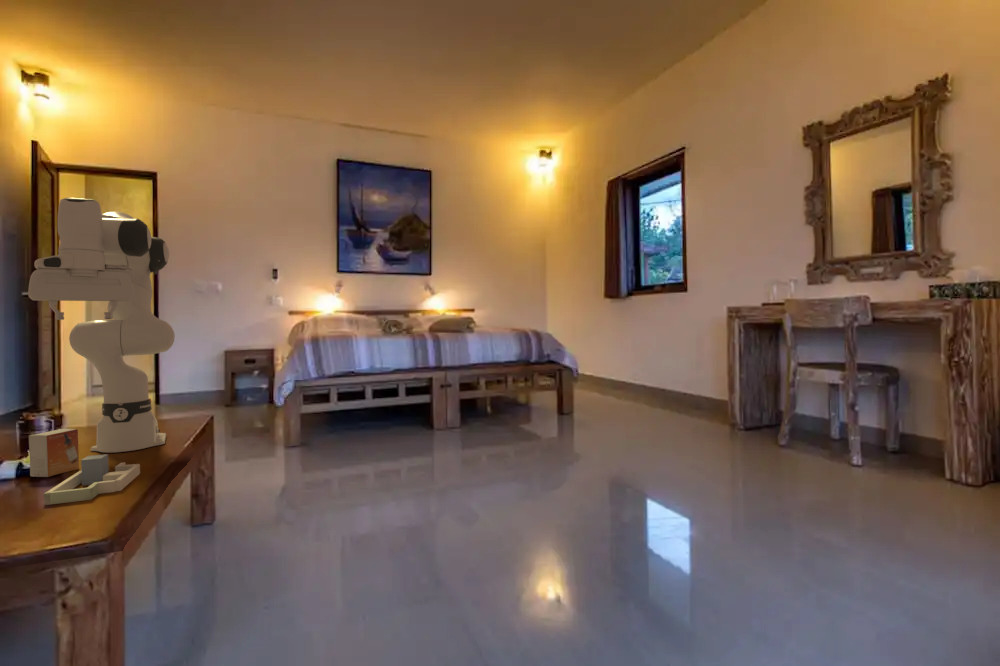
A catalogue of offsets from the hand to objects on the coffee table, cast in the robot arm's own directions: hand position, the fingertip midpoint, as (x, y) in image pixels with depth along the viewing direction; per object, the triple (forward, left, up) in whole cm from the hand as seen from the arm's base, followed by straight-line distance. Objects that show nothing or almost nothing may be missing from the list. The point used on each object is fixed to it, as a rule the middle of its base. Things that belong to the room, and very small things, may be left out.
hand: (84, 319), depth 127 cm
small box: (-7, -10, -39) cm, 41 cm away
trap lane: (+11, +5, -39) cm, 41 cm away
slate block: (+7, +3, -39) cm, 40 cm away
